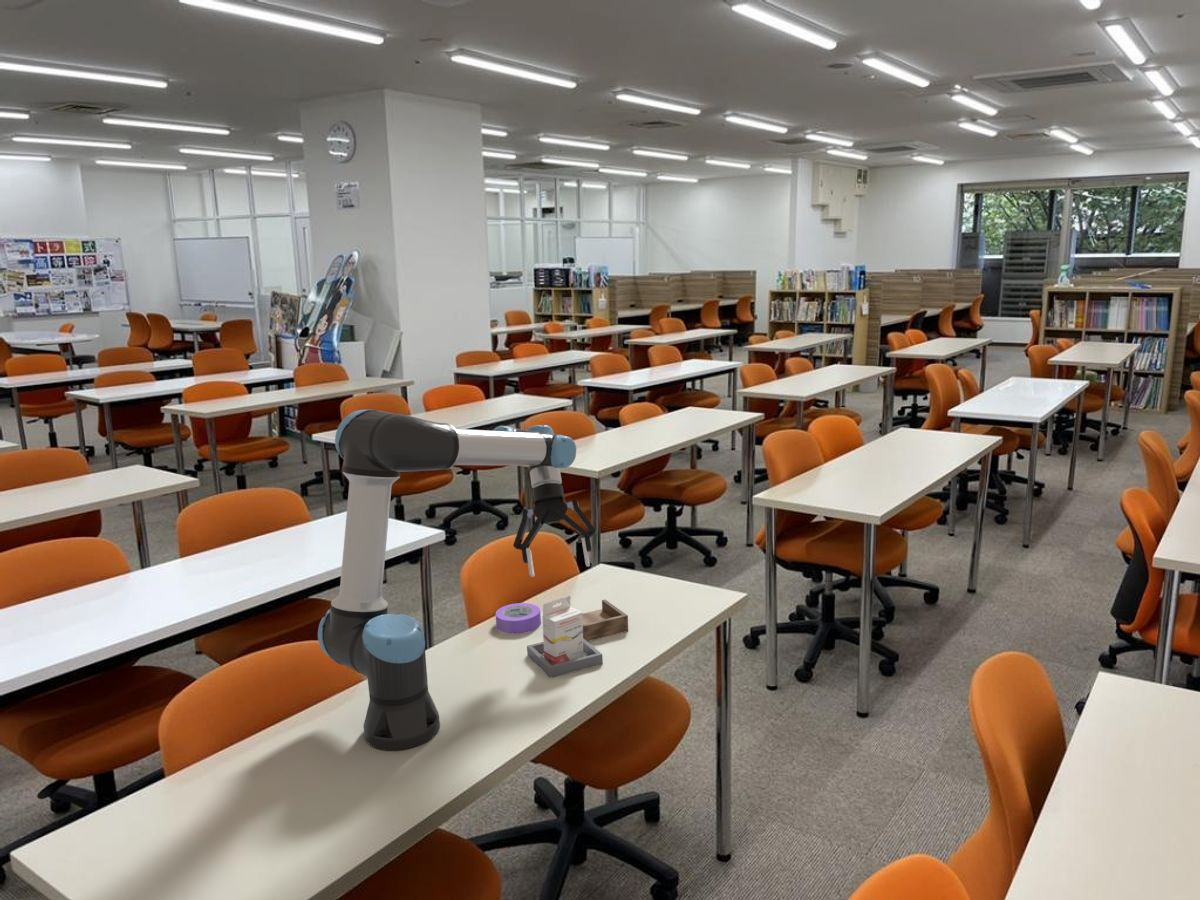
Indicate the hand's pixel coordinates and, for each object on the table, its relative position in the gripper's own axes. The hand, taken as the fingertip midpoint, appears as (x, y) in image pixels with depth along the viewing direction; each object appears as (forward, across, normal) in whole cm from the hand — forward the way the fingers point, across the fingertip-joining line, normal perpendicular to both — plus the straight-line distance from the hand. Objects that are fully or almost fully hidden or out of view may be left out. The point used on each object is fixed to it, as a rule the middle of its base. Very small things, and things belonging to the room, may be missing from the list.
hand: (559, 570), depth 207 cm
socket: (+20, +3, -6) cm, 21 cm away
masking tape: (+8, +16, -23) cm, 29 cm away
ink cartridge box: (+20, +3, -6) cm, 21 cm away
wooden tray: (+12, -4, -21) cm, 25 cm away
